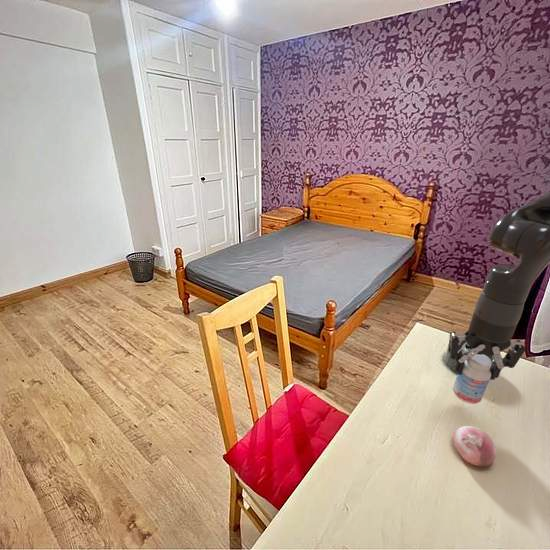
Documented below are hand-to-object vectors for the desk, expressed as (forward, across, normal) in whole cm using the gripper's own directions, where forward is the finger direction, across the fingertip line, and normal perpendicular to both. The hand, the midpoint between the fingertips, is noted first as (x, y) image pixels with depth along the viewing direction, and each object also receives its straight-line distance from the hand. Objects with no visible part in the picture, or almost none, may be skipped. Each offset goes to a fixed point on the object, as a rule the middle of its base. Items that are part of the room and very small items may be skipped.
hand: (473, 374), depth 70 cm
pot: (+14, -6, -18) cm, 24 cm away
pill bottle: (+7, 0, 0) cm, 7 cm away
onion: (+14, 0, +10) cm, 17 cm away
